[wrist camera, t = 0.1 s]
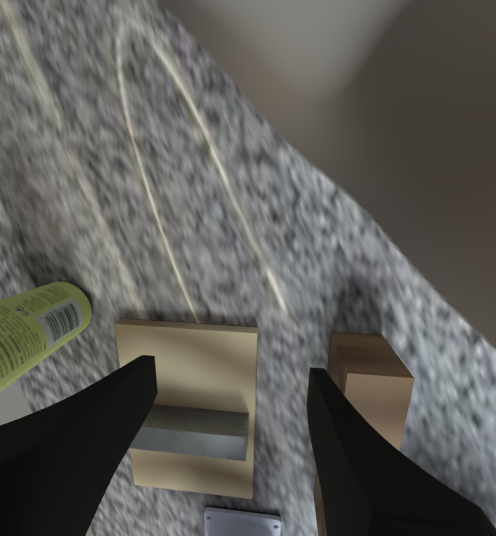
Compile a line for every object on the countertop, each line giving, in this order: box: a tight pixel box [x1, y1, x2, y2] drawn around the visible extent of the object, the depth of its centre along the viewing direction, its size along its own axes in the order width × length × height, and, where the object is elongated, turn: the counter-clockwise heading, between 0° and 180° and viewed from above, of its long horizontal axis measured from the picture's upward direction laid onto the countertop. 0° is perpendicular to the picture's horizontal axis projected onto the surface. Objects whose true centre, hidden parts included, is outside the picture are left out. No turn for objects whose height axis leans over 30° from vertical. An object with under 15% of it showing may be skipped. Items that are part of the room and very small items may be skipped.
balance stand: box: [115, 319, 258, 499], centre depth 24 cm, size 18×12×4 cm, turn 179°
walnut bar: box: [314, 332, 414, 536], centre depth 22 cm, size 18×4×6 cm, turn 179°
